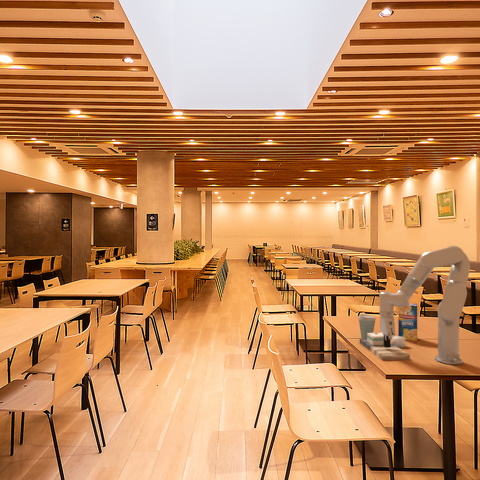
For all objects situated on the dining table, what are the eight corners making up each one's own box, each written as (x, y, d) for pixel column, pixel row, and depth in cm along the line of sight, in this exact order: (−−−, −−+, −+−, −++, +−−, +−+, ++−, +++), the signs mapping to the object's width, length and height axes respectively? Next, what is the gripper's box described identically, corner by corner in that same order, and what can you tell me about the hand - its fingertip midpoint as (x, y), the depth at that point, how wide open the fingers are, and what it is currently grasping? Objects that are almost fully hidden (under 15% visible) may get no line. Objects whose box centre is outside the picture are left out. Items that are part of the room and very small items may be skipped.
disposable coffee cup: (371, 336, 242) (371, 313, 242) (378, 341, 231) (378, 317, 231) (355, 336, 241) (355, 313, 241) (361, 341, 231) (361, 317, 231)
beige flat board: (409, 359, 195) (409, 354, 195) (381, 360, 195) (381, 355, 195) (383, 342, 227) (383, 338, 227) (359, 342, 227) (359, 338, 227)
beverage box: (417, 340, 231) (417, 305, 231) (398, 339, 235) (398, 304, 235) (417, 338, 237) (417, 303, 237) (398, 336, 242) (398, 302, 241)
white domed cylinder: (407, 347, 217) (407, 339, 217) (395, 347, 217) (395, 339, 217) (401, 344, 224) (401, 335, 224) (390, 344, 224) (390, 336, 224)
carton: (388, 344, 214) (388, 335, 214) (372, 345, 213) (372, 335, 213) (381, 341, 222) (381, 331, 222) (367, 341, 221) (367, 332, 221)
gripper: (399, 316, 199) (399, 351, 199) (387, 311, 214) (388, 343, 214) (385, 317, 199) (385, 351, 199) (374, 311, 214) (375, 343, 214)
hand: (387, 347), depth 206 cm, fingers closed
